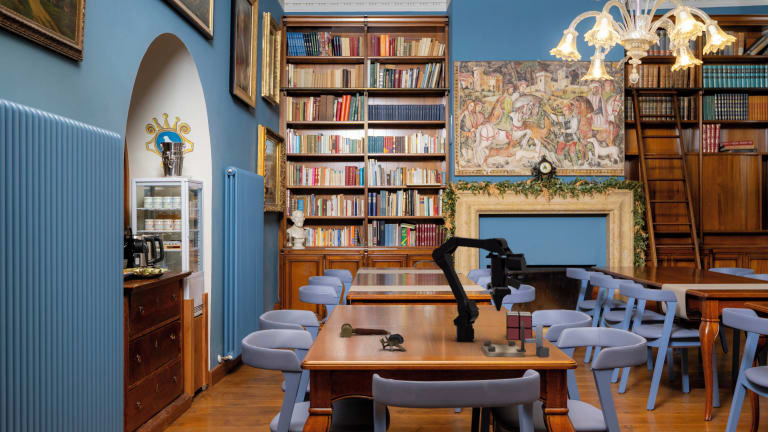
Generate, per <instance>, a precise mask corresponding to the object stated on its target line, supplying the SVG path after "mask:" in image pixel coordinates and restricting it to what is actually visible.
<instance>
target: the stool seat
mask: <svg viewBox="0 0 768 432" xmlns="http://www.w3.org/2000/svg"><path fill="white" fill-rule="evenodd" d="M507 343H508V344H492V341H491V340H484V341H483V343H482V344H480V348H481V350H482V352H483V353H484V355H485V356H486V357H487V358H494V357H495V358H503V357H504V358H525V354H526V349H525V344H526V343H525V338H524V321H521V340H520V347H519V346H518V345H517V344H516V340H508V341H507Z"/></svg>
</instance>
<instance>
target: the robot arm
mask: <svg viewBox="0 0 768 432" xmlns="http://www.w3.org/2000/svg"><path fill="white" fill-rule="evenodd" d="M459 247H462V248H473V249H481V250H484V251H487V252H489V253H488V254H487V255H485V259H490V272H489V275H490V282H488V283H486V290H487V291H489V292H488V294H489V295H490V297H491V300H492V302H493V305H494V307H495V309H496V311H497V312H500V311H501V309H502V305H503V300H504V298H505V297H507V296H511V295H512V289H513V288H514V289H515V290H518V291H519V290H520V288H521V284H522V282H521V281H519V280H517V277H516V276H513V275H511V276H510V277H509V274H508V273H507V270H508V271H509V272H521V273H522V272H525V271H526V270H527V260H526V257H525V253H524V252H523V253H521V252H520V253H513V251H512V249H511V248H510V246H509V244H508V241H507V240H506V238H504V237H493V238H492V237H491V238H473V237H463V236H458V235H457V236H451V237H449V238H448V240H446V241H445V242H443V243H442V244H440V245H439V246H438V247H436V248H434V249H433V250H432V252H431V257H432V260H433V262H434V263H435V265H436V266H437V267H438V268H439V269H441V271H442V273H443V275H444V277H445V280H446V281H447V284H448V286H449V288H450V290H451V292H452V295H453V297H454V298H455V300H456V310H457V314H458V315H457V316H456V317H455V318H454V319H453V321H452V322H453V325H454V326H455V328H456V329H455V331H456V332H455V333H456V335H455V340H456V342H466V343H469V342H470V343H472V342H474V341H475V328H474V327H473V326H474V325H475V322H476V321H477V320H478V318H479V316H480V311H479V310H480V308H479V307H478V305H477V303H476V300H471V299H470V298H469V297H468V295H467V293H466V291H465V288H464V286H463V284H462V282H461V280H460V278H459V276H458V274H457V270H456V269H455V268H454V258H453V254H454V253H455V252H456V251H457V249H458V248H459ZM511 288H512V289H511ZM490 290H491V291H490Z"/></svg>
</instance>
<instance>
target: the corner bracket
mask: <svg viewBox="0 0 768 432" xmlns="http://www.w3.org/2000/svg"><path fill="white" fill-rule="evenodd" d="M536 356H537V357H539V358H548V357H550V347H548V346H543V347H537V354H536Z"/></svg>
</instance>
